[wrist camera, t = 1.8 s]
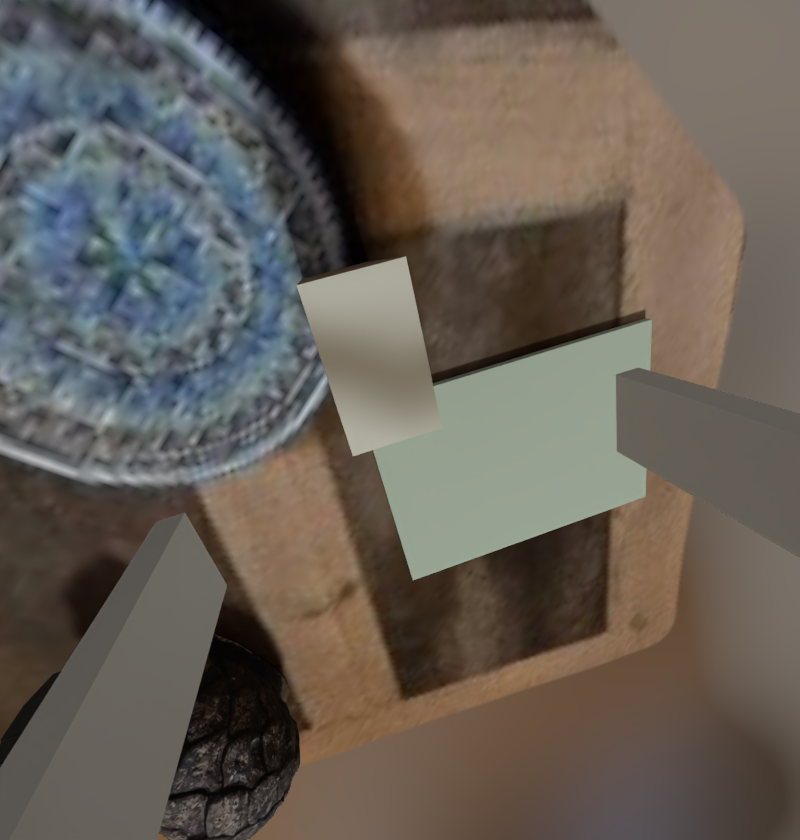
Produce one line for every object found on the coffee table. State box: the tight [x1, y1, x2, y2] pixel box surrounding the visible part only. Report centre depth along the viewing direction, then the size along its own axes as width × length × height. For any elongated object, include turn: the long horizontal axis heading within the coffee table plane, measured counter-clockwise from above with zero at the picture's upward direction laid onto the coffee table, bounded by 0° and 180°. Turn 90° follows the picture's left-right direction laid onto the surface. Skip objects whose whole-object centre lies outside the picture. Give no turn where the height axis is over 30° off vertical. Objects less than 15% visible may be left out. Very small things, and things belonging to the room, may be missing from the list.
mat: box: [373, 318, 652, 580], centre depth 30 cm, size 16×22×1 cm
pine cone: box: [159, 633, 300, 840], centre depth 27 cm, size 10×18×10 cm, turn 40°
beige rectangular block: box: [297, 257, 442, 456], centre depth 19 cm, size 7×4×10 cm, turn 13°
